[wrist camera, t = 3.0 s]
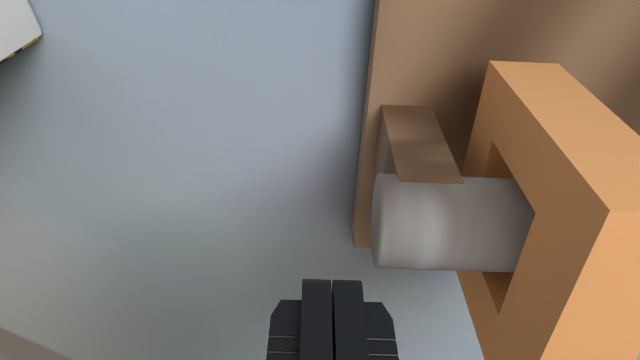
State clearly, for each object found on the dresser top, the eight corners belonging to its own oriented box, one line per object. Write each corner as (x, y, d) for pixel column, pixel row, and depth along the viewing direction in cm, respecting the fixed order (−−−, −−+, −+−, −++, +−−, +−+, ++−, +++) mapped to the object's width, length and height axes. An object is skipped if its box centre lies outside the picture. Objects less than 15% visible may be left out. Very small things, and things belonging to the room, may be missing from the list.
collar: (558, 63, 17) (728, 215, 10) (500, 240, 21) (588, 432, 14) (489, 60, 17) (610, 210, 10) (445, 238, 21) (507, 430, 14)
